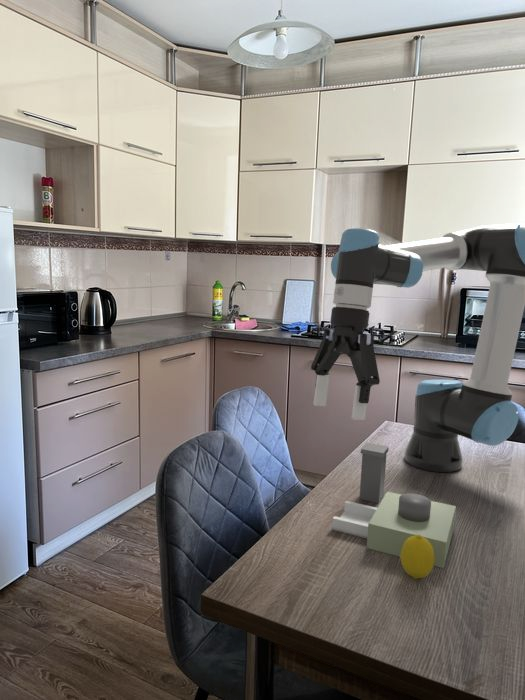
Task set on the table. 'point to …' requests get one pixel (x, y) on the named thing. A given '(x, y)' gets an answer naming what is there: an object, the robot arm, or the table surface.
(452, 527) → the green block with knob
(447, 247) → the robot arm
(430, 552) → the lemon
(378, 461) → the gray capped pillar
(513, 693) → the table surface
